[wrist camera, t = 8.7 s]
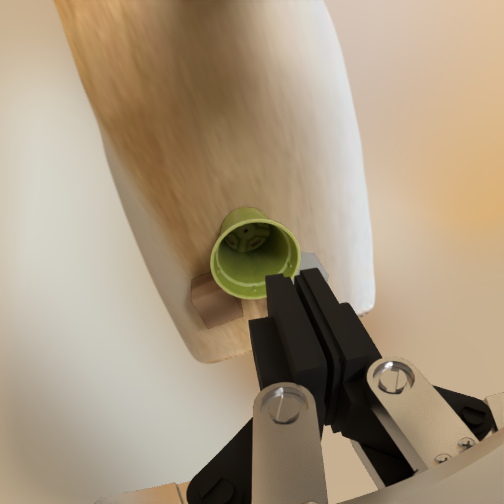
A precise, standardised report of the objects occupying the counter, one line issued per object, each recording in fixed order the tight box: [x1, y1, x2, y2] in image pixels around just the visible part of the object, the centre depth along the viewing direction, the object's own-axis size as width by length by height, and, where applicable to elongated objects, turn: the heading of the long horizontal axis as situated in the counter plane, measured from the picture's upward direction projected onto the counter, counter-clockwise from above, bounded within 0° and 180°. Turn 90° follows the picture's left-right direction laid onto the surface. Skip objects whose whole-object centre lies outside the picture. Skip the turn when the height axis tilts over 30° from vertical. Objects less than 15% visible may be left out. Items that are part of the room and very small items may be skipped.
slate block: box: [292, 253, 329, 284], centre depth 42 cm, size 5×5×6 cm
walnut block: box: [191, 272, 244, 329], centre depth 42 cm, size 5×5×5 cm
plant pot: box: [210, 207, 301, 300], centre depth 37 cm, size 9×9×9 cm
